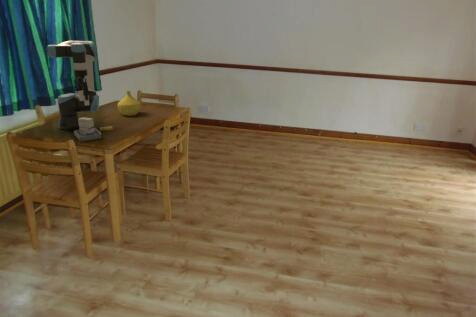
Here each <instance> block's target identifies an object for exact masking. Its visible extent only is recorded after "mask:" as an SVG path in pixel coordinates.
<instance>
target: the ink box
mask: <svg viewBox="0 0 476 317" xmlns="http://www.w3.org/2000/svg"><path fill="white" fill-rule="evenodd" d="M78 123H79V128H78V130H80V136H88V135H95V129H94V128H95V122H94V118H91V117H84V116H82V117H79V119H78Z"/></svg>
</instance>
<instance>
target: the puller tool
mask: <svg viewBox="0 0 476 317" xmlns="http://www.w3.org/2000/svg"><path fill="white" fill-rule="evenodd" d="M98 128H99V129H98V130H99V132H104V131H111V130H114V129H113V128H114V127H113V126H112V125H109V126H101V127H98Z"/></svg>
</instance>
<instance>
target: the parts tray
mask: <svg viewBox="0 0 476 317" xmlns="http://www.w3.org/2000/svg"><path fill="white" fill-rule="evenodd" d="M94 129H95V135H88V136H80V130H79V129H74V130H73V135H74V137H75V138H76V139H77V140H78V141H79V142H80V143H81V142H85V141H86V142H87V141H95V140H100V139H101V140H102V139H103V133H102V132H101V131H100V130H99V129H97V128H96V127H94Z"/></svg>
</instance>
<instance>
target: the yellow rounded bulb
mask: <svg viewBox="0 0 476 317" xmlns="http://www.w3.org/2000/svg"><path fill="white" fill-rule="evenodd" d="M125 93H126V95H125V96H123V98H122V99H121V100H120V101H118V102H117V109H118V111H119V112H120V114H122V115H123V116H126V117H130V116H133V117H134V116H136V115H137V114H138V113H139V112H140V111H141V108H142V103H141V101H139V100H138V99H137V98H135V97H134V96H132V93H131V91H130V90H126V91H125Z"/></svg>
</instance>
